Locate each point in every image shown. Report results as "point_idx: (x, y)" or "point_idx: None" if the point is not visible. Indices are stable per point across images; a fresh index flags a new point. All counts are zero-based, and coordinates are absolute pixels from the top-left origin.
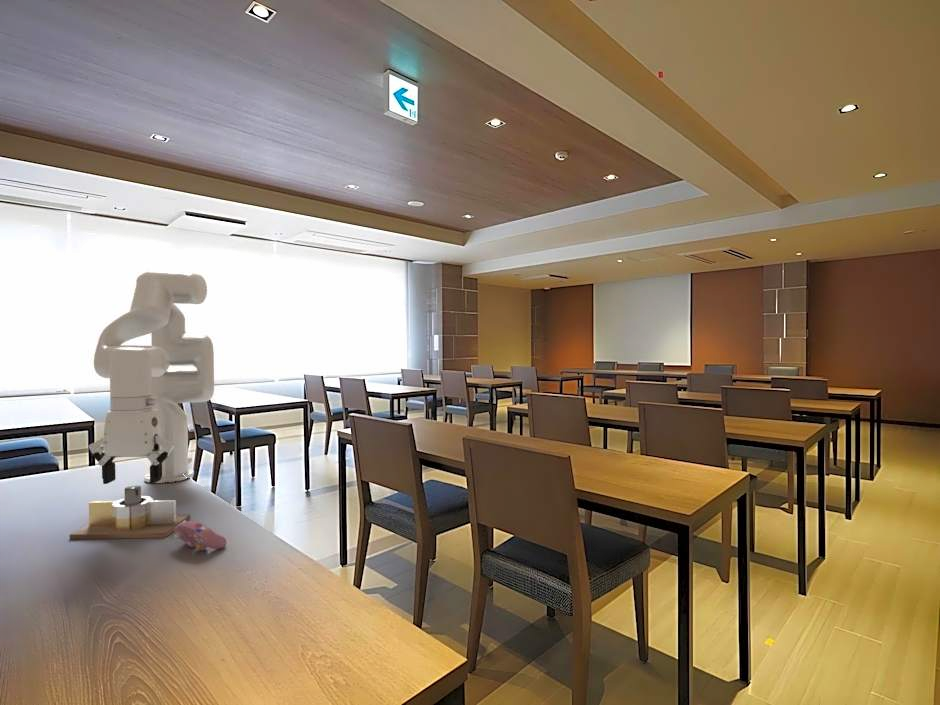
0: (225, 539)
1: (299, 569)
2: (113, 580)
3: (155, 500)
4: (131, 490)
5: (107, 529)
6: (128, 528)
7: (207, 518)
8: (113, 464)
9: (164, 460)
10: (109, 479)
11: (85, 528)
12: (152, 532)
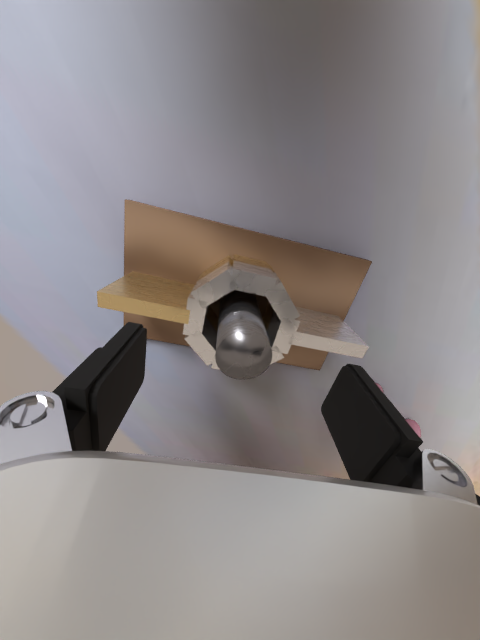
0: (420, 430)
1: (473, 484)
2: (271, 469)
3: (309, 335)
4: (246, 377)
5: None
6: None
7: (406, 270)
8: (100, 402)
9: (455, 464)
10: (138, 374)
11: None
12: (295, 363)
